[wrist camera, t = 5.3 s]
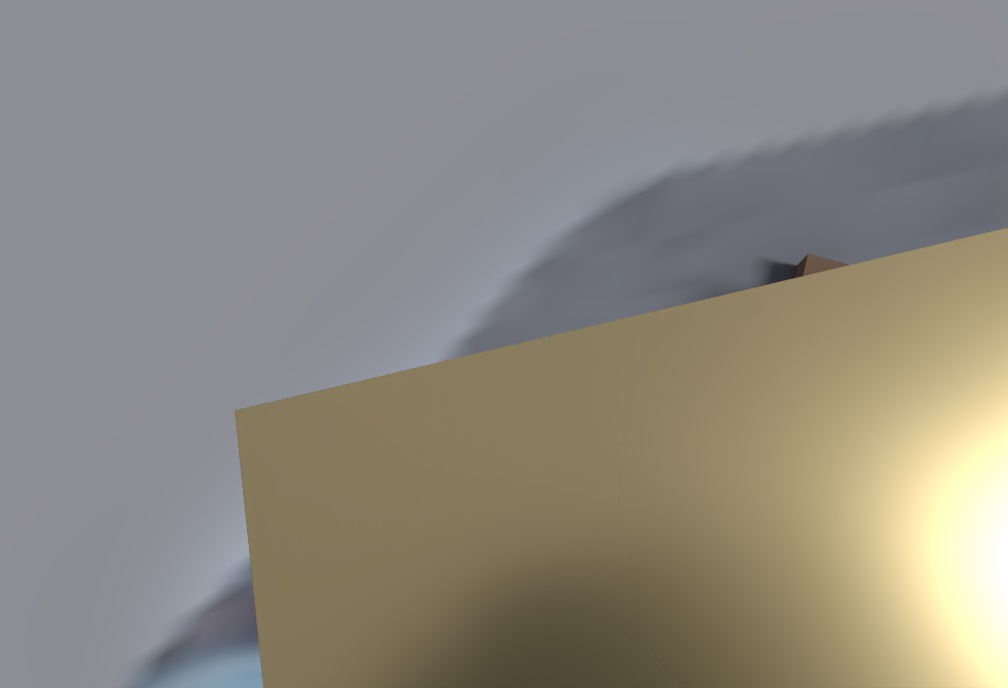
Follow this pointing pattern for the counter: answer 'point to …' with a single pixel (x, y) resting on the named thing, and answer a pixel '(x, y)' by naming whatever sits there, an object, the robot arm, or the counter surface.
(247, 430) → the block
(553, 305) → the counter surface
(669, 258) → the counter surface
